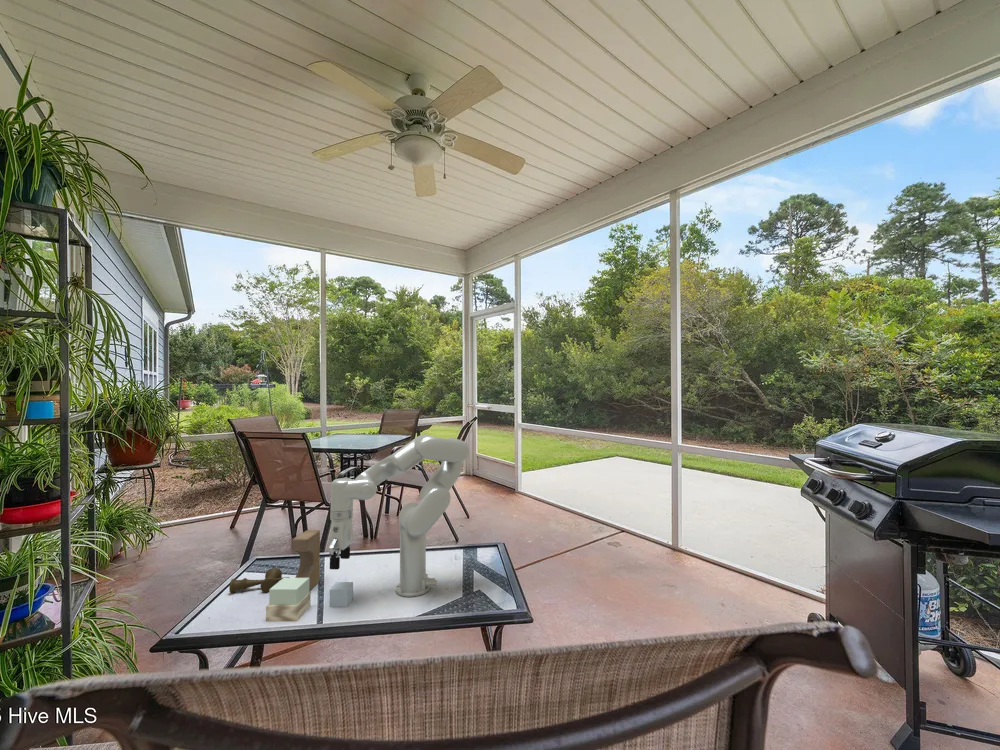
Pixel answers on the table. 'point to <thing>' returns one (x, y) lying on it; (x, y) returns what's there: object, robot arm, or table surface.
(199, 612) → the table surface
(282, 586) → the upper tower block
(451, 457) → the robot arm
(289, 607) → the lower tower block
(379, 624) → the table surface
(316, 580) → the decorative block
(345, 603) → the grey-blue cube
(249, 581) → the kendama
